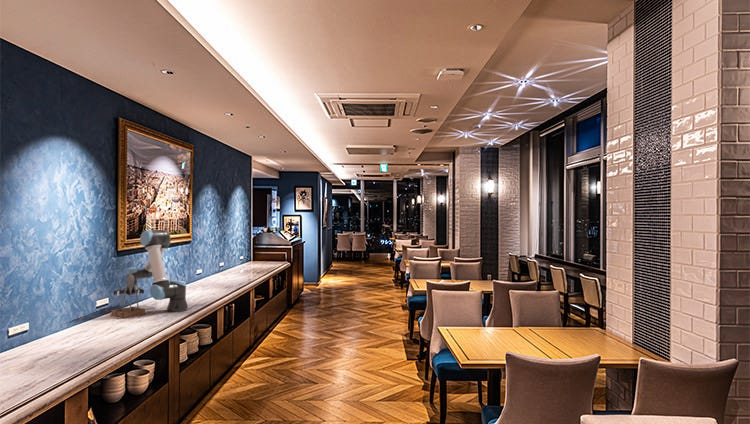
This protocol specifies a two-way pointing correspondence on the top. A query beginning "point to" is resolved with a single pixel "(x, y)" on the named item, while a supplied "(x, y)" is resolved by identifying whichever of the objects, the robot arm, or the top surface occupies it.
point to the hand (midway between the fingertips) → (127, 293)
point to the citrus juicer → (130, 285)
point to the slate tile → (146, 307)
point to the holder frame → (127, 312)
